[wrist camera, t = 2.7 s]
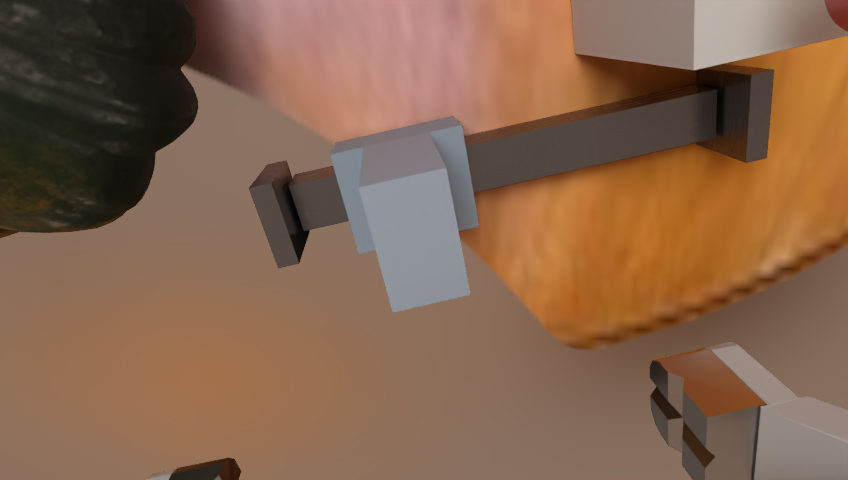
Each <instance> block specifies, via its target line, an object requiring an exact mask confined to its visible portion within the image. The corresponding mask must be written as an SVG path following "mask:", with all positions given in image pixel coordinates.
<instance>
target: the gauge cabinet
mask: <svg viewBox="0 0 848 480" xmlns="http://www.w3.org/2000/svg"><path fill="white" fill-rule="evenodd" d="M571 8H572V21H573V34H574V47H575V54H582V55H589V56H596V57H603V58H610V59H617V60H624V61H631V62H638V63H645V64H652V65H659V66H666V67H673V68H680V69H687V70H697V69H702V68H706V67H711V66H715V65H720V64H724V63H728V62H733V61H737V60H742V59H746V58H751V57H755V56H759V55H764V54H768V53H773V52H777V51H782V50H786V49H790V48H795V47H799V46H804V45H808V44H813V43H817V42H821V41H826V40H830V39H835V38H839V37H844V36H848V31H845V30H844V29H842V28H840V27H839V26H838V25H837V24H836V23H835V22H834V21H833V20H832V19H831V17H830V15H829V13H828V11H827V8H826V6H825V1H824V0H571Z"/></svg>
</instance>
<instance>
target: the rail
mask: <svg viewBox="0 0 848 480" xmlns="http://www.w3.org/2000/svg"><path fill="white" fill-rule="evenodd" d="M773 75H774V70H771V69H762V68H753V67H744V66H735V65H727V64H720V65H715V66H711V67H706V68H702V69H697V85H689V86H685V87H680V88H676V89H671V90H667V91H663V92H658V93H654V94H649V95H645V96H640V97H636V98H631V99H627V100H623V101H618V102H614V103H609V104H605V105H600V106H596V107H592V108H587V109H583V110H578V111H574V112H569V113H565V114H561V115H556V116H552V117H547V118H543V119H538V120H534V121H530V122H525V123H521V124H516V125H512V126H507V127H503V128H499V129H494V130H490V131H485V132H481V133H476V134H472V135H468V136H464V140H465V146H466V152H467V158H468V163H469V169H470V175H471V181H472V186H473V192H474V193H475V192H479V191H484V190H488V189H492V188H497V187H501V186H506V185H510V184H515V183H519V182H523V181H528V180H532V179H537V178H541V177H546V176H550V175H554V174H559V173H563V172H568V171H572V170H577V169H581V168H585V167H590V166H594V165H599V164H603V163H608V162H612V161H617V160H621V159H625V158H630V157H634V156H639V155H643V154H648V153H652V152H656V151H661V150H665V149H670V148H674V147H679V146H683V145H687V144H692V143H696V144H697V145H700V146H702V147H705V148H708V149H710V150H713V151H716V152H718V153H721V154H724V155H726V156H729V157H732V158H734V159H737V160H740V161H743V162H745V163H747V162H752V161H756V160H760V159H765V158H767V150H768V138H769V125H770V113H771V100H772V88H773ZM249 190H250V193H251V195H252V198H253V201H254V204H255V206H256V209H257V212H258V215H259V217H260V220H261V222H262V225H263V228H264V231H265V233H266V236H267V239H268V242H269V244H270V247H271V250H272V253H273V255H274V258H275V261H276V263H277V266H278V268H282V267H286V266H290V265H294V264H299V262H300V259H301V256H302V253H303V250H304V247H305V244H306V241H307V238H308V234H309V232H310V231H309V230H311V229H315V228H319V227H324V226H328V225H333V224H337V223H341V222H346V221H349V219H348V215H347V212H346V208H345V205H344V202H343V198H342V195H341V191H340V188H339V184H338V181H337V177H336V174H335V170H334V167H333V166H330V167H326V168H322V169H317V170H313V171H308V172H304V173H299V174H295V176H294V177H293V179H292V176H291V173H290V170H289V167H288V164H287V161H282V162H277V163H273V164H269V165H267V166H266V167H265V168H264V170H263V171H262V172H261V173H260V175H259V176H258V177H257V179H256V180H255V181H254V182H253V184H252V185H251V186H250V188H249Z"/></svg>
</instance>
